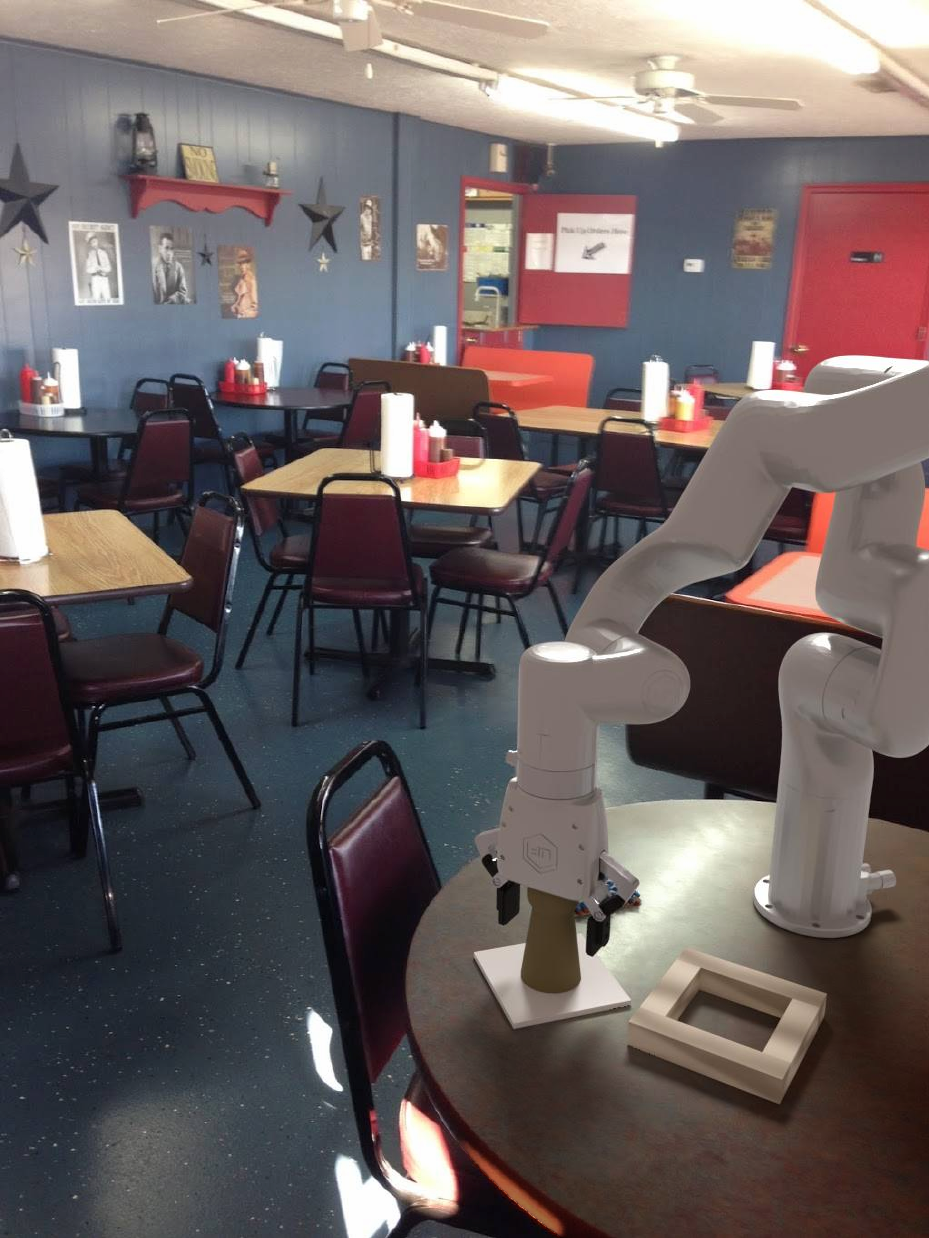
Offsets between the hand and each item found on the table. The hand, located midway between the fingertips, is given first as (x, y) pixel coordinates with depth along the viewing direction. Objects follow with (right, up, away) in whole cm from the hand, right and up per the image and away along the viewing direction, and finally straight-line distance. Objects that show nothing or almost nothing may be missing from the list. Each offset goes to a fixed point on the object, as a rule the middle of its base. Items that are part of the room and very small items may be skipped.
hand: (551, 933), depth 106 cm
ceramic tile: (0, -5, +2) cm, 5 cm away
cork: (0, -5, +1) cm, 5 cm away
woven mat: (+5, -1, +18) cm, 19 cm away
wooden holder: (+16, -7, -6) cm, 18 cm away
